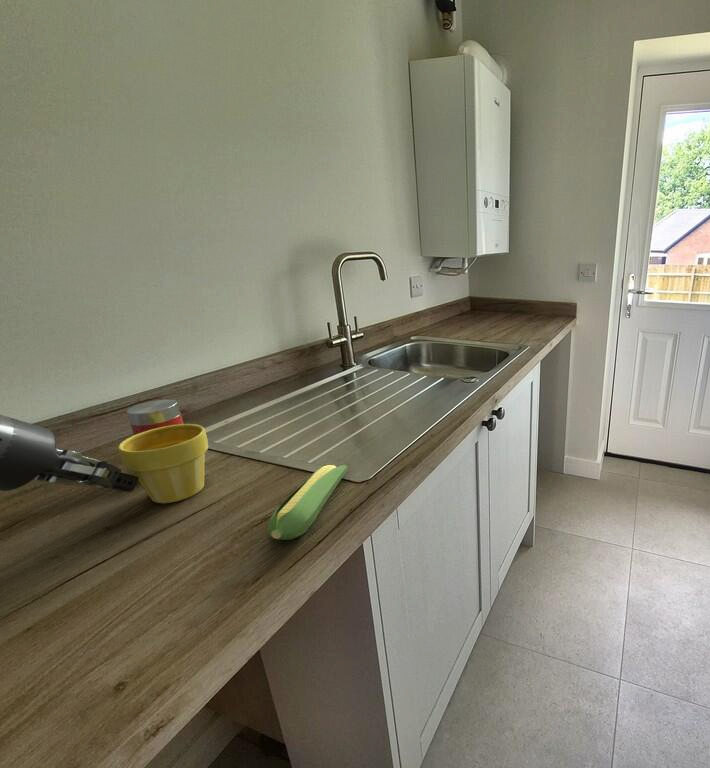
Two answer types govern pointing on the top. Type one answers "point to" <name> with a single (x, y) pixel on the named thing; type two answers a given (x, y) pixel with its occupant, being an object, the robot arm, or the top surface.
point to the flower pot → (167, 461)
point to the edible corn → (305, 503)
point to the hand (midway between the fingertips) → (131, 484)
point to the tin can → (154, 415)
